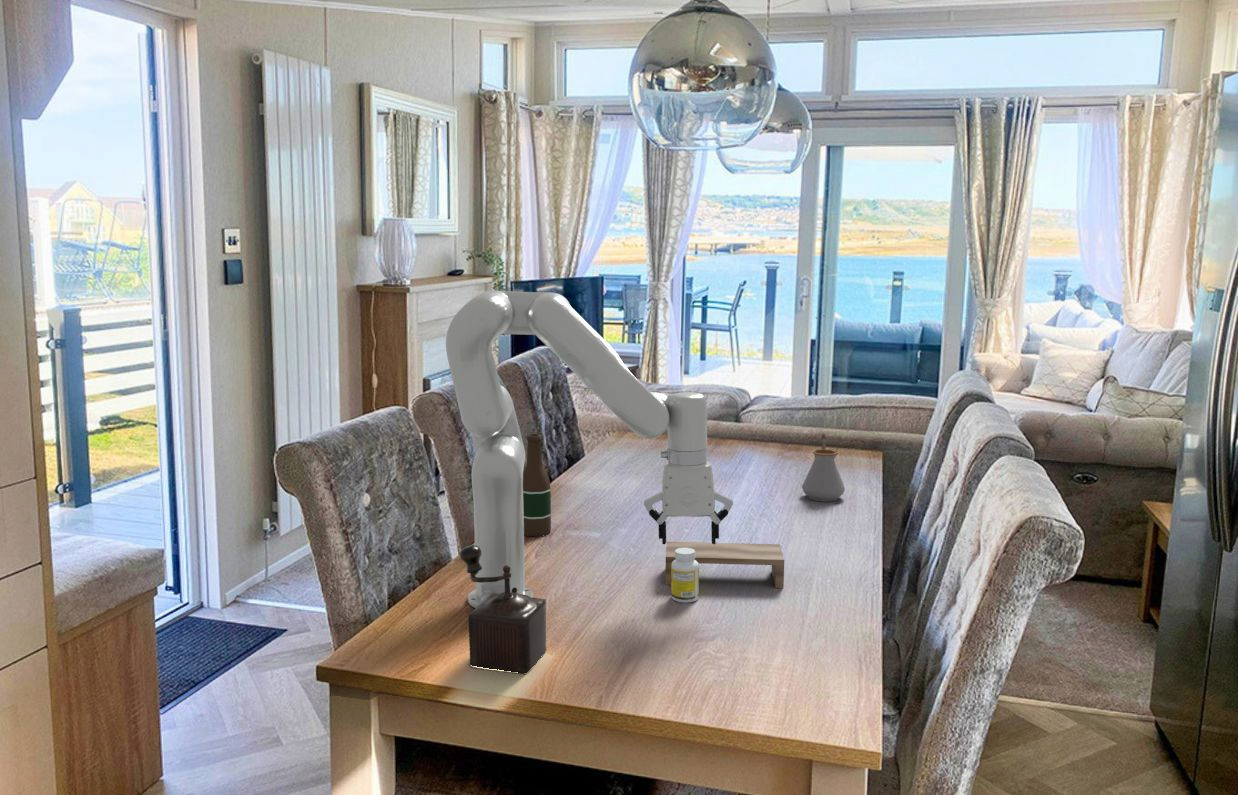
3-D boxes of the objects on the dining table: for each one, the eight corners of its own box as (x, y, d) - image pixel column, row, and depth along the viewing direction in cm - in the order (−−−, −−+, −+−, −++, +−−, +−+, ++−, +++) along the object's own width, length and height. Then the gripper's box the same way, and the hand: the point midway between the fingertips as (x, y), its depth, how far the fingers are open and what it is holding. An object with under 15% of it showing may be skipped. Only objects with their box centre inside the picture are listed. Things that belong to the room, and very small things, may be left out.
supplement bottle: (681, 591, 196) (682, 544, 195) (703, 597, 193) (704, 550, 191) (665, 598, 192) (666, 551, 190) (688, 605, 189) (688, 557, 187)
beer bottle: (546, 538, 230) (545, 438, 226) (514, 536, 231) (513, 437, 227) (555, 528, 237) (554, 432, 233) (524, 526, 239) (523, 430, 235)
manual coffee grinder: (550, 648, 169) (549, 548, 166) (526, 675, 159) (525, 570, 156) (467, 637, 174) (465, 540, 171) (440, 664, 163) (436, 561, 160)
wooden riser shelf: (783, 588, 198) (784, 559, 197) (665, 584, 200) (665, 556, 199) (779, 571, 208) (779, 544, 207) (666, 568, 209) (666, 541, 208)
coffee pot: (845, 504, 259) (847, 449, 257) (801, 502, 261) (803, 447, 259) (842, 484, 280) (844, 433, 277) (801, 482, 282) (803, 431, 279)
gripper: (641, 461, 185) (643, 548, 188) (733, 461, 183) (734, 548, 186) (643, 452, 192) (645, 536, 195) (732, 452, 191) (732, 536, 194)
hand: (688, 542), depth 191 cm, fingers open, 9 cm apart
